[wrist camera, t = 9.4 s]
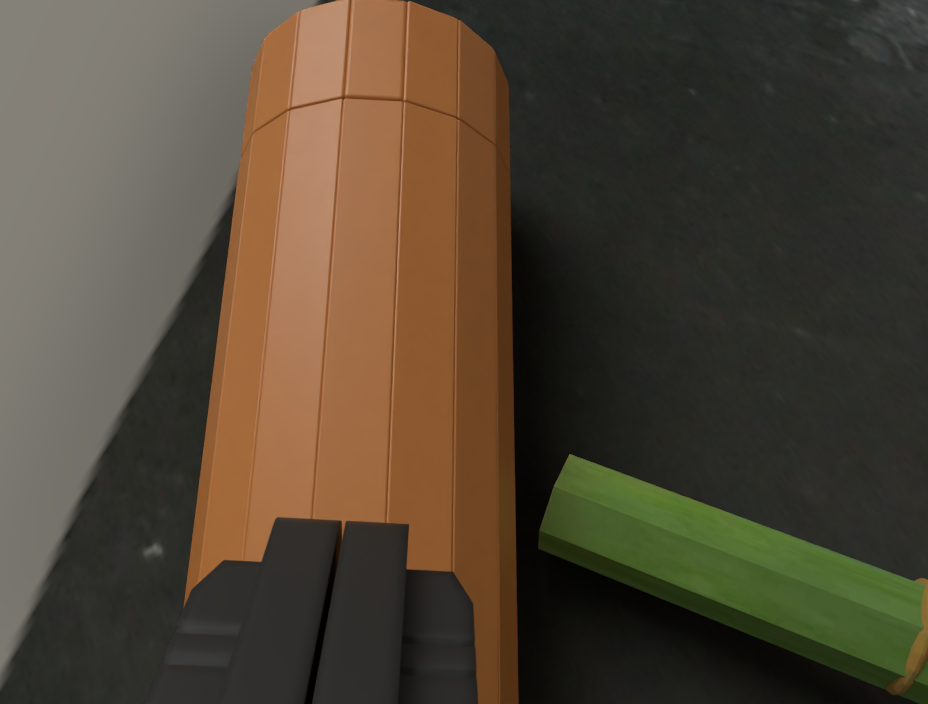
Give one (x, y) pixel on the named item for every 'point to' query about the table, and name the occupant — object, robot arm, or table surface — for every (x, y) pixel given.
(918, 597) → the decorative plant
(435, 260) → the jar
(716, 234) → the table surface
